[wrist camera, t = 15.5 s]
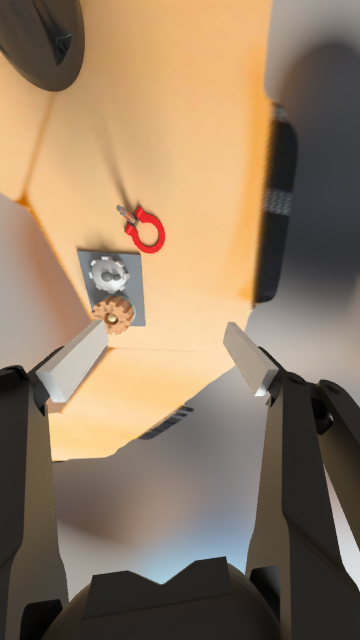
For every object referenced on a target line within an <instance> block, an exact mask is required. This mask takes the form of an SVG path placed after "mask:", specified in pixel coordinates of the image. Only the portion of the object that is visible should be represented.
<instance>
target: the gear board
mask: <svg viewBox="0 0 360 640" xmlns="http://www.w3.org/2000/svg"><path fill="white" fill-rule="evenodd" d="M77 254H78V258H79V261H80V265H81V269H82V273H83V277H84V281H85V285H86V288H87V292H88V296H89V300H90V304H91V308H92V311H93V310H94V309H93V307H94V306H95V305H96V304H98V303H99V302H100V301H102V300H103V299H105V298H107V297H109V296H112V295H114V298H115V297H116V296H122V297H123V298H122V300H124V301H125V300H126V299H127V300H129V301H130V303H129V305H130V306H133V307H134V311H133V312H132V313H135V315H134V318H133V320H132V321H131V323H130V325H129V326H145V310H144V295H143V281H142V266H141V255H134V254H118V253H103V252H87V251H77ZM117 318H118V317H117V316H116V315H115V314H113V313H110V314H109V315H108V320H109V321H111V322H114V321H116V319H117ZM94 319H95V318H94Z"/></svg>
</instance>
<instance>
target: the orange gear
mask: <svg viewBox="0 0 360 640" xmlns="http://www.w3.org/2000/svg"><path fill="white" fill-rule="evenodd" d="M122 298H123V297H122V296H116V297H115V298H114V295H112V296H109V297H107V298H105V299H103V300H102V301H100V302H99V303H98V304H96V305H95V306H94V307H93V309H94V310H93V311H92V312H91V317H94V318H95V319H93V320H92V322H93V321H94V320H96V319H99V320H104V324H105V328H106V331H107V334H112V333H113V332H115V334H116V335H117V334H121V332H122V331H124V332H125V331H126V330H127V328H128V327H129V325H130V323H131V321H132V320H133V318H134V315H135V313H132V312H133V311H134V307H133V306H130V305H129V303H130V301H129V300H127V299H126V300H125V301H124V300H122ZM110 313H113V314H115V315H116V316H117V317H118V318H117V319H116V321H114V322H111V321H109V320H108V315H109V314H110Z"/></svg>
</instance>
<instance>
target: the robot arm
mask: <svg viewBox="0 0 360 640" xmlns="http://www.w3.org/2000/svg"><path fill="white" fill-rule="evenodd" d="M84 47H85V33H84V22H83V15H82V10H81V5H80V1H79V0H0V52H1V53H2V54H3V55H4V56H5V58H6V59H7V60H8V61H9V62H10V64H11V65H12V66H13V67H14V68H15V69H16V70H17V71H18V72H19V73H20V74H21V75H22V76H23V77H24V78H25V79H27V80H28V81H29V82H31V83H32V84H34V85H35V86H37V87H39V88H41V89H44V90H47V91H61V90H64V89H66V88H68V87H69V86H70V85H71V84H72V83H73V82H74V81H75V79H76V78H77V76H78V74H79V72H80V69H81V66H82V62H83V57H84ZM108 342H109V341H108V337H107V332H106V328H105V324H104V320H99V319H96V320H94V321H93V322H92V323H91V324H90V325H89V326H88V327H86V328H85V329H84V330H83V331H82V332H81V333H80V334H79V335H77V336H76V337H75V338H74V339H73V340H72V341H70V342H69V343H68V344H67V345H66V346H62V347H60V348H58V349H56V350H55V351H54V352H52V353H51V354H50V355H49V356H47V357H46V358H45V359H44V360H43V361H41V362H40V363H39V364H38V365H37V366H35V367H34V368H33V369H32V370H31V371H29V372H28V373H26V372H25V370H24V369H23V367H22V366H20V365H14V366H9V367H5V368H3V369H1V370H0V640H360V591H359V589H358V587H357V585H356V584H355V582H354V581H353V580H352V578H351V577H350V576H349V574H348V573H347V572H346V570H345V567H344V565H343V563H342V559H341V555H340V550H339V545H338V540H337V534H336V529H335V524H334V519H333V513H332V508H331V503H330V498H329V493H328V488H327V482H326V477H325V472H324V466H323V463H324V465H325V468H326V470H327V473H328V475H329V478H330V480H331V483H332V485H333V487H334V490H335V492H336V495H337V497H338V499H339V502H340V504H341V507H342V509H343V512H344V514H345V516H346V519H347V521H348V524H349V526H350V529H351V531H352V533H353V536H354V538H355V541H356V543H357V546H358V548H359V551H360V408H359V406H358V405H357V404H356V402H355V401H354V400H353V399H352V397H351V396H350V395H349V394H348V393H347V392H346V391H345V390H344V389H343V388H342V387H340V386H339V385H338V384H335V383H334V382H331V381H328V380H320V381H319V382H318V384H314V383H309V382H306V381H305V380H304V379H303V378H302V377H300V376H299V375H297V374H295V373H292V372H287V371H286V370H285V369H284V368H283V367H282V366H281V365H280V364H279V363H278V362H277V361H276V360H275V359H274V358H273V357H272V356H271V355H270V354H269V353H268V352H267V351H266V350H265V349H263V348H262V347H259V346H256V344H255V343H254V342H253V341H252V340H251V339H250V338H249V337H248V336H247V335H246V334H245V333H244V332H243V331H242V330H241V329H240V328H239V327H238V326H237V324H236V323H235V322H228V323H227V327H226V331H225V335H224V339H223V344H224V345H225V347H226V349H227V350H228V352H229V354H230V355H231V357H232V359H233V360H234V362H235V364H236V365H237V367H238V369H239V370H240V372H241V374H242V375H243V377H244V379H245V380H246V382H247V384H248V385H249V387H250V389H251V390H252V392H253V394H254V395H255V396H265V394H266V392H267V390H268V391H269V393H270V394H271V396H270V397H269V399H268V401H267V403H266V405H268V404H269V405H268V414H267V422H266V431H265V440H264V449H263V458H262V468H261V477H260V485H259V494H258V504H257V512H256V521H255V528H254V532H253V534H252V537H251V540H250V544H249V550H248V555H247V563H246V571H245V575H244V574H243V573H242V572H241V571H240V570H238V569H237V568H235V567H234V566H233V565H231V564H229V563H227V560H226V556H225V557H218V558H211V559H205V560H197V561H194V562H193V563H191V564H190V565H188V566H187V567H186V568H184V569H183V570H182V571H180V572H179V573H178V574H176V575H175V576H174V577H172V578H171V579H170V580H168V581H167V582H166V583H164V584H159V583H156V582H154V581H152V580H149V579H147V578H145V577H143V576H141V575H139V574H136V573H133V572H131V571H128V570H127V571H120V572H114V573H106V574H99V575H93V577H92V581H91V583H90V584H89V585H87V586H86V587H85V588H84V589H82V590H81V591H80V592H79V593H78V594H77V595H76V596H75V597H74V598H73V599H72V600H71V601H70V602H69V599H68V589H67V579H66V573H65V569H64V564H63V562H62V559H61V557H60V553H59V547H58V534H57V523H56V509H55V498H54V484H53V472H52V459H51V446H50V434H49V421H48V409H47V404H46V403H45V402H46V401H47V400H48V399H49V397H51V399H52V400H53V402H67V400H68V399H69V397H70V396H71V394H72V393H73V392H74V390H75V389H76V387H77V386H78V385H79V383H80V382H81V380H82V378H83V377H84V376H85V375H86V373H87V372H88V370H89V369H90V368H91V366H92V365H93V363H94V362H95V360H96V359H97V357H98V356H99V355H100V353H101V351H102V350H103V349H104V348H105V346H106V345H107V343H108ZM331 415H332V417H333V421H332V419H331V417H330V416H331Z"/></svg>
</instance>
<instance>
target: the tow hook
mask: <svg viewBox="0 0 360 640" xmlns="http://www.w3.org/2000/svg"><path fill="white" fill-rule="evenodd" d="M117 210H118V211H119V212H120V214H121V215H122V216H124V217H125V218H126V219H127V222H128V223H129V224H128V226H127V227H126V229H125V232H126V233H127V234H128V235H130V236H132V238H133V241H134V243H135V245H136V246H137V247H138V248H139V249H140V250H141V251H143V252H145V253H155V252H157V251H159V250H160V249H161V248H162V246H163V244H164V241H165V232H164V228H163V226H162V224H161V223H160V221H159V220H158V219H157V218H156V217H154V216H152V215H148V214H145V213H144V211H143V209H142V208H141V207H138V209H137V210H136V212H135V214H133V213H132V214H130V213H129V212H128V211H127V210H126V209H125V208H123V207H121V206H120V205H117ZM139 220H140V221H141V222H142V223H147V222H148V223H152V224H153V225H155V226H156V228H157V229H158V232H159V240H158V243H157V244H156V245H155V246H153V247H146V246H144V245H143V244H142V243H141V242H140V240H139V237H138V231H137V230H136V229H135V227H136V225H137V223H138V222H139Z"/></svg>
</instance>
